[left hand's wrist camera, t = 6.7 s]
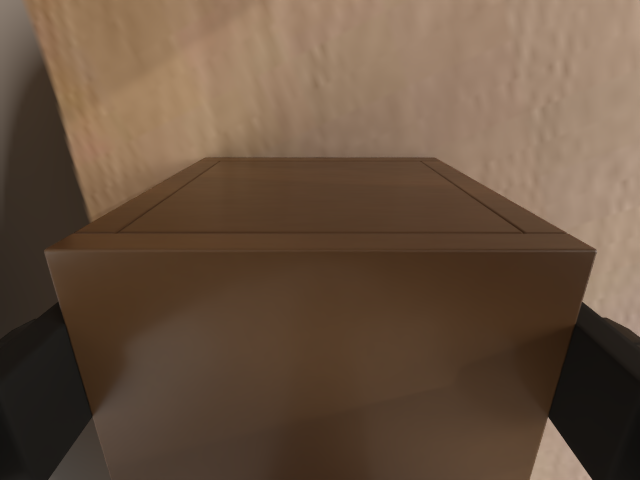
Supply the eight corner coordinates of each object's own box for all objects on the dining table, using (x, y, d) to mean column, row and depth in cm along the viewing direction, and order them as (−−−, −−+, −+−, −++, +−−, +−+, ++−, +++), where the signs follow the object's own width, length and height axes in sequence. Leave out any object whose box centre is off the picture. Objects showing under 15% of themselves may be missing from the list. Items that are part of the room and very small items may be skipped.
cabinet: (405, 424, 25) (471, 678, 14) (234, 424, 25) (168, 678, 14) (435, 157, 18) (599, 249, 8) (204, 157, 18) (41, 249, 8)
